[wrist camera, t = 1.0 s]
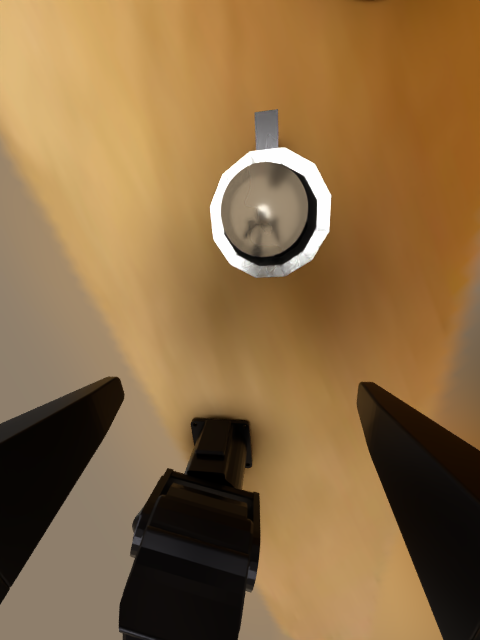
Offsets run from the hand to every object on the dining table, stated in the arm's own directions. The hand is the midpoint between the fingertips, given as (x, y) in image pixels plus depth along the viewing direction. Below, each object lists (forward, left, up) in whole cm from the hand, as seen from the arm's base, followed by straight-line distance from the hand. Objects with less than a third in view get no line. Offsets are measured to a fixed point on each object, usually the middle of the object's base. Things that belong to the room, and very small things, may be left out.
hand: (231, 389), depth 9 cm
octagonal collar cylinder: (+6, -1, -13) cm, 15 cm away
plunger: (+6, -1, -9) cm, 11 cm away
